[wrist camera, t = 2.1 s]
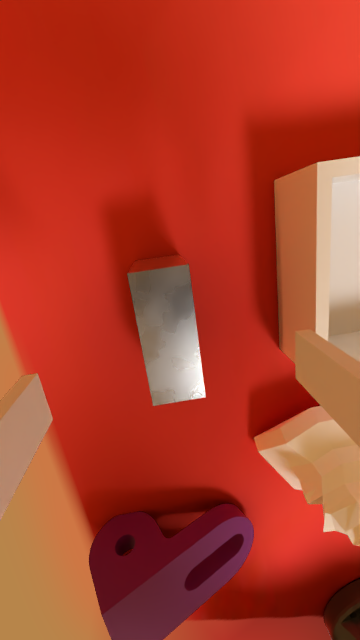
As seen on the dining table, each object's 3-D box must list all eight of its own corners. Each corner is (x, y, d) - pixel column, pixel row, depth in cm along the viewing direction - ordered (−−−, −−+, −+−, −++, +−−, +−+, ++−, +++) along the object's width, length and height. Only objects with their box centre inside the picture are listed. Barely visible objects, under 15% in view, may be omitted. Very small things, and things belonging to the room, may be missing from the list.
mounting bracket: (208, 458, 41) (81, 537, 33) (250, 501, 34) (101, 614, 26) (216, 507, 44) (102, 590, 36) (256, 556, 37) (124, 673, 29)
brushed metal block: (192, 353, 29) (205, 397, 22) (153, 359, 29) (153, 405, 21) (178, 254, 26) (188, 264, 18) (135, 260, 26) (127, 273, 18)
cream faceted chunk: (371, 439, 37) (472, 588, 25) (254, 458, 38) (296, 609, 26) (391, 369, 30) (543, 527, 18) (247, 394, 31) (300, 559, 19)
